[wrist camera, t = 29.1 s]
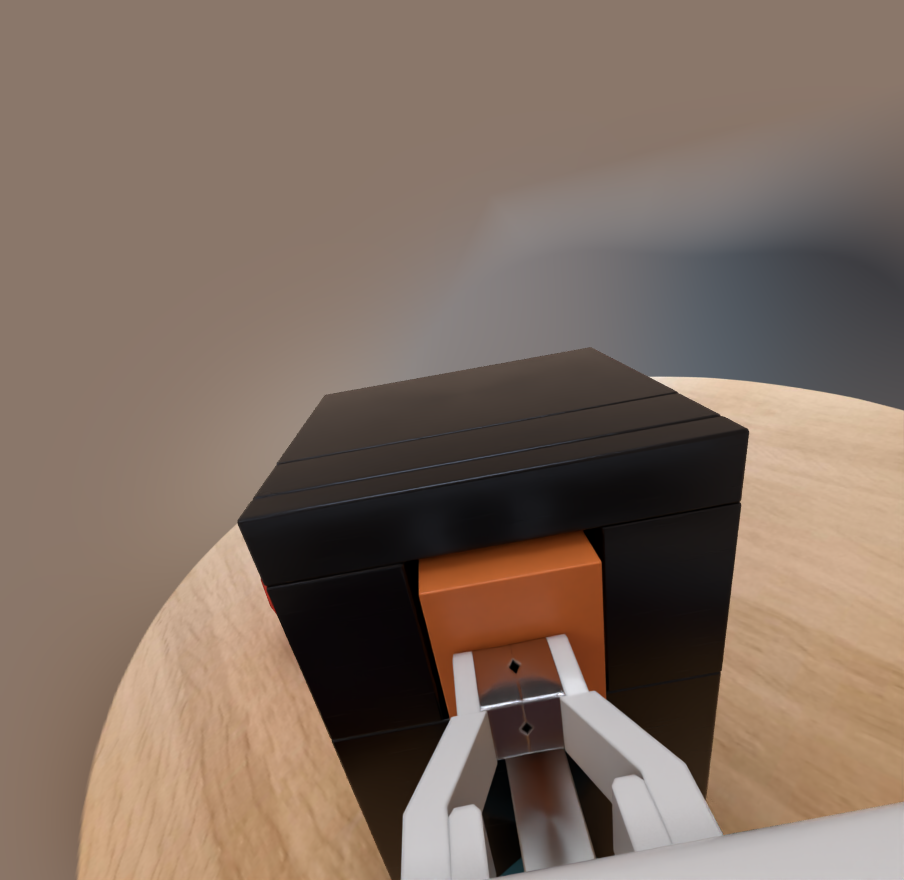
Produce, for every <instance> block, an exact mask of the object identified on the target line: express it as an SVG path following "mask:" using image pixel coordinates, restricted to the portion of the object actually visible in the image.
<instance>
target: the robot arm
mask: <svg viewBox="0 0 904 880" xmlns="http://www.w3.org/2000/svg"><path fill="white" fill-rule="evenodd" d="M452 661H453V672H454V684H455V696H456V707H457V716H454V717H451V719H450V721H449V723H448V725H447V727H446V729H445V731H444V733H443V735H442V737H441V739H440V741H439V743H438V745H437V747H436V749H435V751H434V753H433V755H432V757H431V759H430V761H429V763H428V765H427V767H426V769H425V771H424V773H423V775H422V777H421V779H420V781H419V783H418V785H417V787H416V790H415V792H414V794H413V796H412V798H411V800H410V802H409V804H408V806H407V808H406V810H405V812H404V814H403V829H402V861H401V880H904V802H899V803H894V804H888V805H883V806H878V807H872V808H867V809H862V810H856V811H851V812H846V813H840V814H835V815H829V816H824V817H819V818H813V819H808V820H803V821H797V822H792V823H787V824H781V825H776V826H770V827H765V828H760V829H754V830H749V831H743V832H738V833H733V834H727V835H723V833H722V831H721V829H720V827H719V826H718V824H717V822H716V820H715V818H714V816H713V814H712V812H711V811H710V809H709V807H708V805H707V803H706V801H705V799H704V797H703V795H702V794H701V792H700V790H699V788H698V786H697V784H696V782H695V780H694V779H693V777H692V775H691V773H690V771H689V769H688V767H687V765H686V764H685V763H684V762H683V761H682V760H681V759H679V758H678V757H677V756H676V755H674V754H673V753H672V752H671V751H669V750H668V749H667V748H666V747H664V746H663V745H662V744H661V743H660V742H658V741H657V740H656V739H655V738H653V737H652V736H651V735H650V734H648V733H647V732H646V731H645V730H643V729H642V728H641V727H640V726H638V725H637V724H636V723H635V722H633V721H632V720H631V719H630V718H629V717H627V716H626V715H625V714H624V713H622V712H621V711H620V710H619V709H617V708H616V707H615V706H614V705H612V704H611V703H610V702H609V701H607V700H606V699H605V698H604V697H602V696H601V695H600V694H599V693H598V692H596V691H589V690H588V687H587V685H586V682H585V680H584V677H583V675H582V672H581V670H580V667H579V665H578V662H577V660H576V657H575V655H574V652H573V650H572V647H571V645H570V642H569V640H568V637H567V636H566V635H565V634H561V635H555V636H550V637H546V638H545V637H543V638H538V639H533V640H527V641H522V642H517V643H512V644H508V645H505V646H499V647H492V648H486V649H479V650H473V651H468V652H462V653H456V654H453V659H452ZM563 748H565V751H566V752H567V753H568V754H569V755H570V756H571V758H572V759H573V760H574V761H575V762H576V763H577V764H578V765H579V767H580V768H581V769H582V770H583V771H584V772H585V773H586V774H587V776H588V777H589V778H590V779H591V780H592V781H593V782H594V783H595V785H596V786H597V787H598V788H599V789H600V790H601V791H602V792H603V794H604V795H605V796H606V797H607V798H608V799H609V800H610V802H611V803H612V814H613V850H614V853H615V855H614V856H608V857H603V858H597V859H592V860H587V861H581V862H576V863H571V864H565V865H560V866H554V867H549V868H544V869H538V870H533V871H528V872H522V873H517V874H511V875H506V876H501V877H496V871H495V867H494V863H493V859H492V854H491V850H490V846H489V842H488V837H487V833H486V829H485V825H484V821H483V816H482V811H483V808H484V805H485V802H486V798H487V795H488V792H489V789H490V786H491V782H492V779H493V776H494V773H495V770H496V766H497V761H498V760H503V759H507V758H512V757H516V756H521V755H526V754H530V753H537V752H543V751H550V750H556V749H563Z"/></svg>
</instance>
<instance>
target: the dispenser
mask: <svg viewBox="0 0 904 880" xmlns="http://www.w3.org/2000/svg"><path fill="white" fill-rule="evenodd" d="M748 437H749V430H748V429H747V428H745V427H743V426H741V425H739V424H737V423H735V422H733V421H731V420H730V419H728V418H726V417H723V416H720V414H718V413H716V412H714V411H712V410H710V409H708V408H706V407H704V406H702V405H701V404H699V403H697V402H695V401H693V400H691V399H689V398H687V397H685V396H683V395H681V394H679V393H678V392H677V391H675V390H673V389H671V388H669V387H667V386H665V385H663V384H661V383H659V382H657V381H655V380H653V379H652V378H650V377H648V376H646V375H644V374H642V373H640V372H638V371H636V370H634V369H632V368H630V367H628V366H626V365H624V364H622V363H621V362H619V361H617V360H615V359H613V358H611V357H609V356H606V355H605V354H603V353H601V352H599V351H597V350H595V349H593V348H591V347H590V348H584V349H578V350H574V351H568V352H562V353H557V354H551V355H545V356H540V357H534V358H529V359H524V360H517V361H512V362H506V363H501V364H495V365H489V366H484V367H478V368H473V369H467V370H462V371H456V372H451V373H445V374H439V375H434V376H428V377H423V378H417V379H412V380H406V381H401V382H395V383H389V384H384V385H378V386H373V387H367V388H362V389H356V390H351V391H345V392H339V393H334V394H328V395H325V396H324V397H323V398H322V400H321V401H320V403H319V404H318V406H317V407H316V408H315V410H314V411H313V413H312V414H311V415H310V417H309V418H308V420H307V421H306V423H305V424H304V425H303V427H302V428H301V430H300V431H299V433H298V434H297V436H296V437H295V438H294V440H293V441H292V442H291V444H290V445H289V447H288V448H287V450H286V451H285V453H284V454H283V455H282V457H281V458H280V460H279V461H278V462H277V466H275V468H274V469H273V471H272V472H271V474H270V475H269V476H268V478H267V479H266V481H265V482H264V483H263V485H262V486H261V488H260V489H259V491H258V492H257V493H256V495H255V496H254V498H253V501H251V502H250V503H249V505H248V506H247V508H246V509H245V510H244V512H243V513H242V515H241V516H240V518H239V519H238V526H239V528H240V531H241V533H242V535H243V537H244V540H245V542H246V544H247V547H248V549H249V551H250V554H251V556H252V558H253V561H254V563H255V565H256V568H257V570H258V572H259V574H260V577H261V579H262V581H263V584H264V585H265V586H267V593H268V595H269V597H270V600H271V602H272V604H273V607H274V609H275V611H276V614H277V616H278V618H279V620H280V623H281V625H282V627H283V630H284V632H285V634H286V637H287V639H288V641H289V644H290V646H291V648H292V650H293V653H294V655H295V657H296V660H297V662H298V664H299V667H300V669H301V671H302V674H303V676H304V678H305V681H306V683H307V685H308V687H309V690H310V692H311V694H312V697H313V699H314V701H315V704H316V706H317V708H318V711H319V713H320V715H321V718H322V720H323V722H324V724H325V727H326V729H327V731H328V734H329V736H330V738H331V739H332V743H333V746H334V748H335V750H336V753H337V755H338V757H339V760H340V762H341V764H342V767H343V769H344V771H345V773H346V776H347V778H348V780H349V783H350V785H351V787H352V790H353V792H354V794H355V797H356V799H357V801H358V804H359V806H360V808H361V810H362V813H363V815H364V817H365V820H366V822H367V824H368V827H369V829H370V831H371V834H372V836H373V838H374V840H375V843H376V845H377V847H378V850H379V852H380V854H381V857H382V859H383V861H384V864H385V866H386V868H387V871H388V873H389V875H390V877H391V880H401V861H402V829H403V814H404V812H405V810H406V808H407V806H408V804H409V802H410V800H411V798H412V796H413V794H414V792H415V790H416V787H417V785H418V783H419V781H420V779H421V777H422V775H423V773H424V771H425V769H426V767H427V765H428V763H429V761H430V759H431V757H432V755H433V753H434V751H435V749H436V747H437V745H438V743H439V741H440V739H441V737H442V735H443V733H444V731H445V729H446V727H447V725H448V723H449V721H450V717H449V713H448V709H447V705H446V701H445V697H444V693H443V689H442V685H441V681H440V677H439V673H438V669H437V665H436V661H435V657H434V653H433V649H432V646H431V642H430V638H429V634H428V630H427V626H426V622H425V618H424V614H423V610H422V606H421V602H420V598H419V559H424V558H430V557H436V556H441V555H447V554H452V553H458V552H464V551H469V550H475V549H480V548H486V547H492V546H497V545H503V544H508V543H514V542H520V541H525V540H531V539H536V538H542V537H547V536H553V535H559V534H564V533H570V532H575V531H581V530H583V532H584V534H585V535H586V537H587V539H588V540H589V542H590V544H591V545H592V547H593V549H594V550H595V552H596V554H597V555H598V557H599V559H600V560H601V562H602V588H603V618H604V647H605V677H606V700H607V701H609V702H610V703H611V704H612V705H614V706H615V707H616V708H617V709H619V710H620V711H621V712H622V713H624V714H625V715H626V716H627V717H629V718H630V719H631V720H632V721H633V722H635V723H636V724H637V725H638V726H640V727H641V728H642V729H643V730H645V731H646V732H647V733H648V734H650V735H651V736H652V737H653V738H655V739H656V740H657V741H658V742H660V743H661V744H662V745H663V746H664V747H666V748H667V749H668V750H669V751H671V752H672V753H673V754H674V755H676V756H677V757H678V758H679V759H681V760H682V761H683V762H684V763H685V764H686V765H687V767H688V769H689V771H690V773H691V775H692V777H693V779H694V780H695V782H696V784H697V786H698V788H699V790H700V792H701V794H702V795H703V797H704V799H705V801H706V794H707V785H708V777H709V768H710V760H711V752H712V743H713V735H714V726H715V718H716V709H717V701H718V692H719V684H720V675H721V672H720V671H722V663H723V655H724V646H725V638H726V629H727V621H728V612H729V604H730V596H731V587H732V579H733V570H734V562H735V554H736V545H737V537H738V528H739V520H740V512H741V503H740V501H741V497H742V488H743V480H744V471H745V463H746V454H747V446H748ZM482 816H483V821H484V825H485V829H486V833H487V837H488V842H489V846H490V850H491V854H492V859H493V863H494V867H495V871H496V877H499V876H500V875H501V874H503V873H504V872H505V871H506V870H507V869H508V868H509V867H511V866H512V865H513V864H514V863H515V862H516V861H517V860H518V859H520V858H521V857H522V861H523V867H524V872H528V871H533V870H538V869H544V868H549V867H554V866H560V865H565V864H571V863H576V862H581V861H587V860H592V859H596V857H598V858H603V857H608V856H614V855H615V853H614V850H613V814H612V803H611V802H610V800H609V799H608V798H607V797H606V796H605V795H604V794H603V792H602V791H601V790H600V789H599V788H598V787H597V786H596V785H595V783H594V782H593V781H592V780H591V779H590V778H589V777H588V776H587V774H586V773H585V772H584V771H583V770H582V769H581V768H580V767H579V765H578V764H577V763H576V762H575V761H574V760H573V759H572V758H571V756H570V755H569V754H568V753H567V752H566V751H565V748H563V749H556V750H550V751H543V752H537V753H530V754H526V755H521V756H516V757H512V758H507V759H503V760H498V761H497V766H496V770H495V773H494V776H493V779H492V782H491V786H490V789H489V792H488V795H487V798H486V802H485V805H484V808H483V811H482Z"/></svg>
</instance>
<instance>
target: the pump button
mask: <svg viewBox="0 0 904 880" xmlns="http://www.w3.org/2000/svg"><path fill="white" fill-rule="evenodd" d="M419 598H420V602H421V606H422V610H423V614H424V618H425V622H426V626H427V630H428V634H429V638H430V642H431V646H432V649H433V653H434V657H435V661H436V665H437V669H438V673H439V677H440V681H441V685H442V689H443V693H444V697H445V701H446V705H447V709H448V713H449V717H450V719H451V717H454V716H457V707H456V696H455V684H454V672H453V661H452V659H453V654H456V653H462V652H468V651H473V650H479V649H486V648H492V647H499V646H505V645H508V644H512V643H517V642H522V641H527V640H533V639H538V638H543V637H545V638H546V637H550V636H555V635H561V634H565V635H566V636H567V637H568V640H569V642H570V645H571V647H572V650H573V652H574V655H575V657H576V660H577V662H578V665H579V667H580V670H581V672H582V675H583V677H584V680H585V682H586V685H587V687H588V690H589V691H596V692H598V693H599V694H600V695H601V696H602V697H604V698H605V699H606V677H605V647H604V618H603V588H602V562H601V560H600V559H599V557H598V555H597V554H596V552H595V550H594V549H593V547H592V545H591V544H590V542H589V540H588V539H587V537H586V535H585V534H584V532H583V530H581V531H575V532H570V533H564V534H559V535H553V536H547V537H542V538H536V539H531V540H525V541H520V542H514V543H508V544H503V545H497V546H492V547H486V548H480V549H475V550H469V551H464V552H458V553H452V554H447V555H441V556H436V557H430V558H424V559H419Z"/></svg>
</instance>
